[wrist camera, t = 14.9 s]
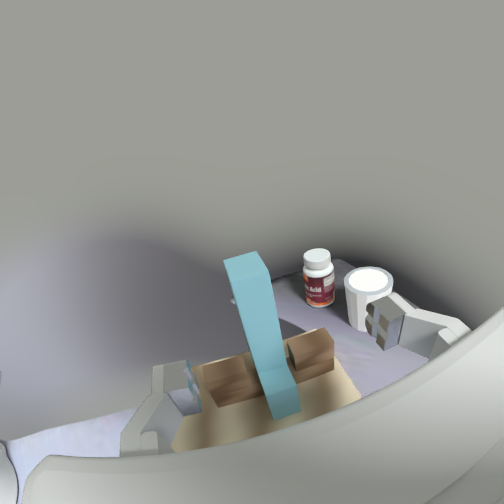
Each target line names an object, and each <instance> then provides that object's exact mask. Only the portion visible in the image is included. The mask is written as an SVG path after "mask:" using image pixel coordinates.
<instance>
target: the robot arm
mask: <svg viewBox="0 0 504 504" xmlns="http://www.w3.org/2000/svg"><path fill="white" fill-rule="evenodd" d="M366 311H367V312H368V314H367V316H366V318H365V326H366V329H367V331H368V333H369V334H370V335H371V336H372V337H375V338H376V343H377V344H378V345H379V346H380V347H381V348H382V350H383V351H385V350H387V349H389V348H391V347H393V346H396V345H399V346H401V347H404V348H406V349H408V350H411V351H413V352H415V353H417V354H420V355H422V356H424V357H427V358H429V361H428V363H426V364H424V365H423V366H421V367H419V368H418V369H416V370H414V371H413V372H411V373H409V374H407V375H406V376H404V377H402V378H400V379H399V380H397V381H395V382H393V383H391V384H389V385H387V386H385V387H384V388H382V389H380V390H378V391H376V392H374V393H372V394H370V395H367V396H365V397H363V398H361V399H359V400H357V401H355V402H352V403H350V404H348V405H346V406H343V407H341V408H339V409H336V410H334V411H331V412H329V413H326V414H324V415H321V416H318V417H316V418H313V419H310V420H308V421H305V422H302V423H299V424H296V425H293V426H290V427H287V428H284V429H281V430H278V431H274V432H271V433H267V434H264V435H260V436H257V437H253V438H249V439H245V440H241V441H237V442H233V443H228V444H223V445H219V446H214V447H208V448H203V449H197V450H191V451H184V452H177V453H176V452H175V451H174V450H173V449H172V448H171V447H170V446H171V444H172V442H173V440H174V438H175V435H176V433H177V431H178V429H179V427H180V425H181V423H182V421H183V419H184V416H188V415H193V414H198V413H202V412H203V411H202V404H201V399H200V397H199V396H198V394H199V393H200V390H199V385H198V381H197V378H196V375H195V373H194V372H193V371H191V365H190V363H189V361H188V360H182V361H177V362H172V363H166V364H162V365H156V366H153V368H152V389H151V395H149V396H148V397H147V398H146V400H145V401H144V402H143V404H142V405H141V406H140V408H139V409H138V410H137V412H136V413H135V414H134V416H133V417H132V419H131V420H130V421H129V423H128V424H127V425H126V427H125V428H124V429H123V431H122V432H121V437H120V457H75V456H63V455H48V456H46V457H45V458H44V459H43V460H42V461H41V462H40V463H39V464H38V465H37V466H36V467H35V468H34V469H33V470H32V471H31V473H30V474H29V475H28V477H27V480H26V482H25V486H24V490H23V497H22V503H21V504H504V306H503V307H502V308H501V309H500V310H498V311H497V312H496V313H495V314H494V315H493V316H491V317H490V318H489V319H488V320H487V321H485V322H484V323H483V324H482V325H480V326H479V327H478V328H476V329H475V330H474V331H471V330H470V329H469V328H468V327H467V326H465V324H463V323H462V322H461V321H460V320H459V319H457V318H453V317H449V316H445V315H441V314H437V313H433V312H429V311H425V310H421V309H414V308H413V307H412V306H410V305H409V304H408V303H407V302H406V301H405V300H404V299H402V298H401V297H400V296H399V295H398V294H397V293H394V292H393V293H391V294H389V295H386V296H385V297H382V298H380V299H377V300H375V301H372V302H370V303H368V304H367V306H366ZM16 500H17V478H16V474H15V470H14V468H13V466H12V464H11V462H10V461H9V459H8V457H7V454H6V449H5V446H4V444H2V443H1V442H0V504H16Z"/></svg>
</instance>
